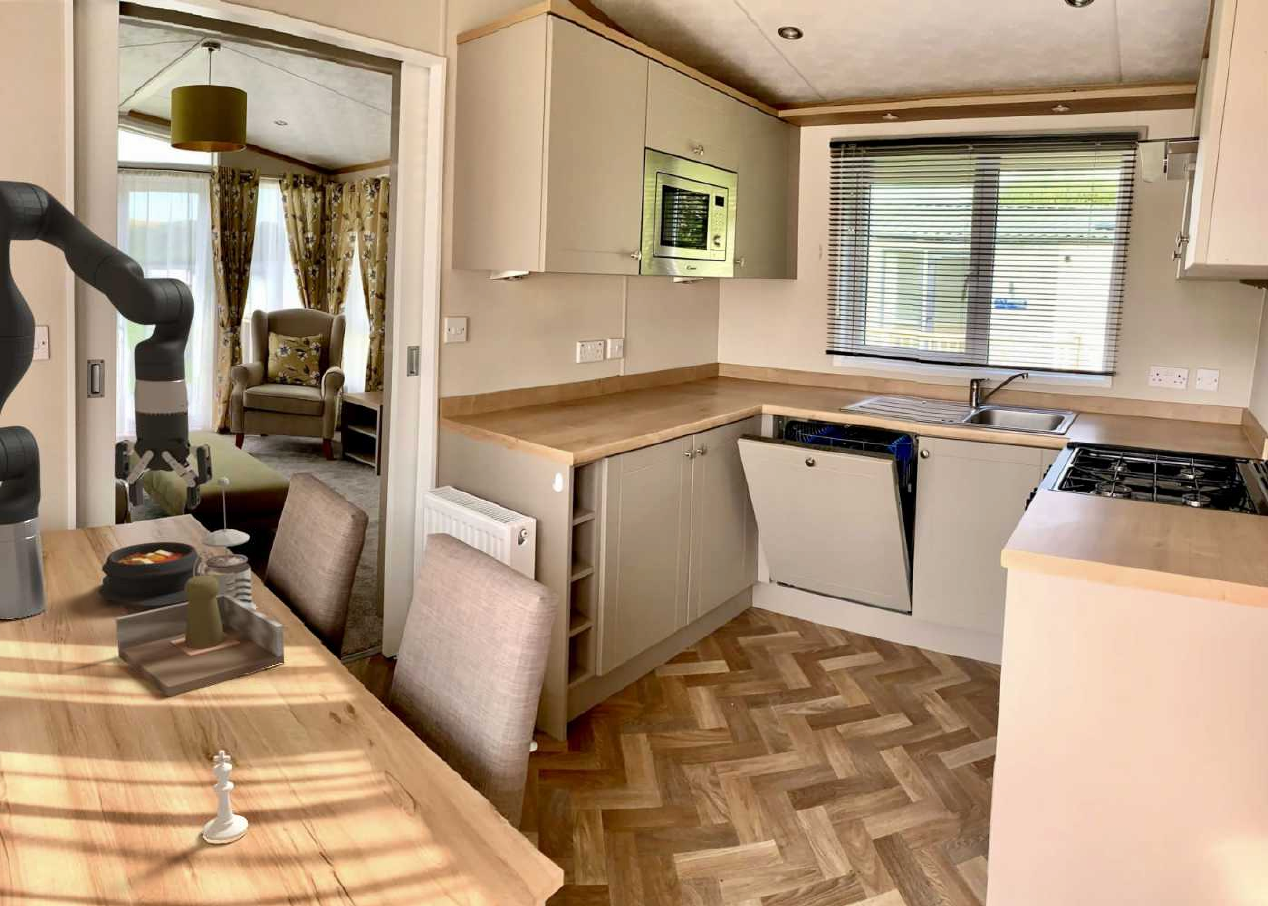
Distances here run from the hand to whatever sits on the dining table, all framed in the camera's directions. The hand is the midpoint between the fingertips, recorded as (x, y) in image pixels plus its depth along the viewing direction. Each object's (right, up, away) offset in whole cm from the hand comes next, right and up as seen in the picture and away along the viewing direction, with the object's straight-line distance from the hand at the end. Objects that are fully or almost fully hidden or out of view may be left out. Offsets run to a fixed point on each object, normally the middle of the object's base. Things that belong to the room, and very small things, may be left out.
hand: (165, 506), depth 157 cm
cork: (+5, -23, +4) cm, 23 cm away
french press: (+1, -21, +21) cm, 30 cm away
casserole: (-16, -19, +29) cm, 38 cm away
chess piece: (+28, -35, -45) cm, 64 cm away
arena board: (+6, -25, +1) cm, 25 cm away
